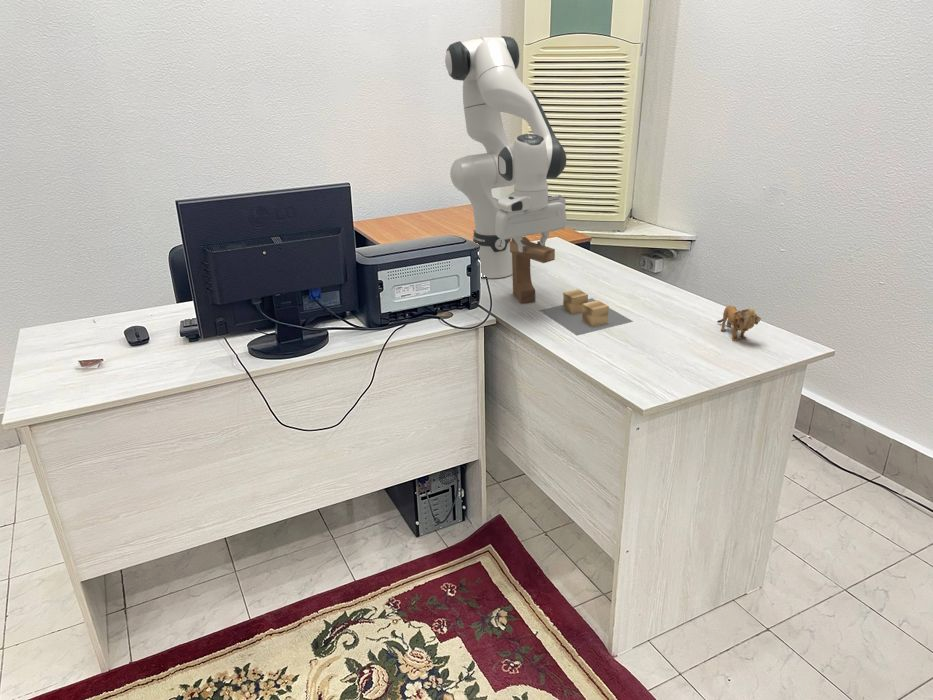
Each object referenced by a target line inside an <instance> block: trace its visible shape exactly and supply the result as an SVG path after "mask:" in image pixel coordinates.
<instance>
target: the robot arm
mask: <svg viewBox="0 0 933 700" xmlns="http://www.w3.org/2000/svg"><path fill="white" fill-rule="evenodd" d="M518 44H519V43H517V41H516V39H515V38H514V37H511V36H505V35H501V36H484V37H480V38H472V39H470V40H469V39H468V40H463V41H459V40H458V41H456V42H452V43H451V44H449V45H448V47H447V49H446V51H445V57H444V60H445V61H444V63H445V68H446V71H447V73H448V75H449V76H450V78H451V79H453V80H455V81H460V82H461V81H462V103H463V104H462V105H463V112H464V119H465V125H466V126H465V127H466V134H467V135H468V136H469V138H471V139H472V140H473V141H476V142H477V143H480V144H482V146H483V147H484V148H485V151H486V152H485V153H477V154H470V155H465V156H463V157H460V158H457V159H455V160H454V161H453V163H452V164H451V167H450V172H449V173H450V174H449V175H450V180H451V183H452V184H453V186H454V187H455V188H456V189H457V190H458V191H460V192H461V193H463V194H464V195H465V196H466V198H467V199H468V200H469V202H470V204H471V207H472V210H473V218H474V229H473V230H472V232H473V236H472V242H475V243H478V244H479V245H480V250H479V258H480V261H481V273H482V279H484V278H483V277H484V275H485V276H486V277H487V278H486V279H500V278H505V277H509V276H512V253H511V252H510V241H512V238H514V240H515V241H516V243H517V245H518V251H519V252H525V251H526V245H524V244H522V243H521V241H520V240H522V237H527V236H534V235H538V234H540V235H541V237H540V240H537V243H536V244H540V245H543V246H546V242H547V240H548V238H549V237H550V232H555V231H559V230H564V229H566V226H567V224H568V223H567V214H566V213H567V211H566V198H565V197H564V196H562V195H561V194H556V195H549V186H548V182H547V181H548V180H555V179H556V178H558V177H559V176H560V175H561V174H562V173H563V171H564V170H565V168H566V167H567V155H566V151H565V149H564V147H563V145H562V143H561V142H560V141H559V140H558V138H557V136H556V134H555V132H554V130H553V128H552V125H551V124H550V122H549V121H550V120H549V119H548V117H547V115H546V113H545V111H544V109H543V107H542V104H541V102H540V101H539V98H538V97H537V96H536V94H535V92H534V91H532V90H531V89H528V88H527V86H526V85H524V83H523V81H521V80H520V78H519V76H518V73H517V69H518V68H519V64H520V58H521V57H520V56H521V53H520V49H519V48H520V47H519V45H518ZM501 113H504V114H510V115H512V116H513V115H514V116H516V117H519V118H521V119H523V120H524V121H526V123H527V124H528V125H529V127H530V129H531V132H532V133H523V134H521V135H518V136H517V137H515V139H514V142H513V143H511V141H510V140H509V138H508V136H507V135H506V132H505V129H504V125H503V120H502V114H501ZM511 186H514V188H513V190H514V191H513V192H511V193H509V194H508V195H506V196H504V197H502V198H500V199H498V198H496V197H493V193H492V190H493V189H498V188H505V187H511Z"/></svg>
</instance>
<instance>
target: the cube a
mask: <svg viewBox="0 0 933 700" xmlns="http://www.w3.org/2000/svg"><path fill="white" fill-rule="evenodd" d="M562 296H563V297H562V301H563V302H562V305H563V309H564V310H566V311H568V312H569V313H571V314H572V315H573V314H577V313H581V312H582V308H583V304H584V303H588V299H589V294H588V293H586V292H585V291H582V290H581V289H579V288H578V289H573V290H572V289H571V290H568V291H564V292H563V293H562Z"/></svg>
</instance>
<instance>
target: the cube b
mask: <svg viewBox="0 0 933 700" xmlns="http://www.w3.org/2000/svg"><path fill="white" fill-rule="evenodd" d="M609 308H610V307H609V305H608V304H606V303H604V302H602V301H601V300H598V299H597V300H596V301H592V302H588V303H584V304H583V308H582V321H584V322H585V323H587V324H588V325H590V326H592V327H594V326H598V325H602V324H606V323H608V310H609Z"/></svg>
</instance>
